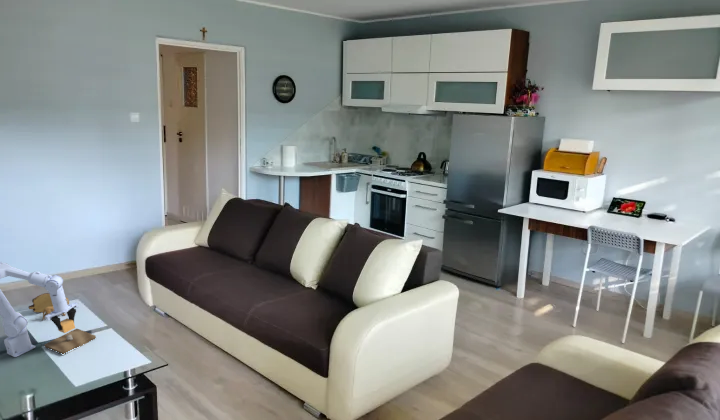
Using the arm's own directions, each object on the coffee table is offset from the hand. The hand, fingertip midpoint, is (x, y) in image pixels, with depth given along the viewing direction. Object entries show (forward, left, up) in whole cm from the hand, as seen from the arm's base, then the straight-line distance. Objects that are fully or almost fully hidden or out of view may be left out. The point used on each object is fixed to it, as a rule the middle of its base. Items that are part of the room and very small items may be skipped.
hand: (66, 326), depth 244 cm
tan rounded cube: (0, 0, -1) cm, 1 cm away
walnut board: (0, 0, -9) cm, 9 cm away
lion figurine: (+13, +35, -9) cm, 38 cm away
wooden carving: (+14, +48, -9) cm, 51 cm away
